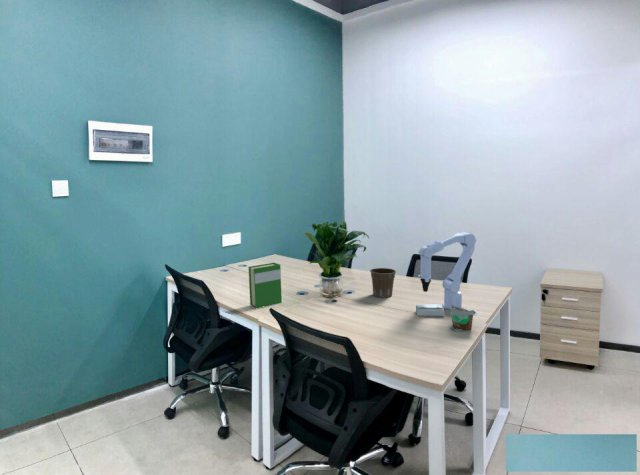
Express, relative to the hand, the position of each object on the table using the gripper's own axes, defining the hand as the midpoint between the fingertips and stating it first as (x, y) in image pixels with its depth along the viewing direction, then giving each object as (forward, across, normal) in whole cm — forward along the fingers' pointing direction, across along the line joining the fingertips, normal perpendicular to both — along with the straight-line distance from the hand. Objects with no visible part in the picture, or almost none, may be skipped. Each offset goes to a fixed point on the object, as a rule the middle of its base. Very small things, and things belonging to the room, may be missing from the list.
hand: (425, 291), depth 233 cm
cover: (+7, +7, +2) cm, 10 cm away
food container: (+11, +29, +13) cm, 34 cm away
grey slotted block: (+10, +8, +2) cm, 13 cm away
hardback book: (+11, -4, -94) cm, 95 cm away
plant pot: (+11, -27, -23) cm, 37 cm away
